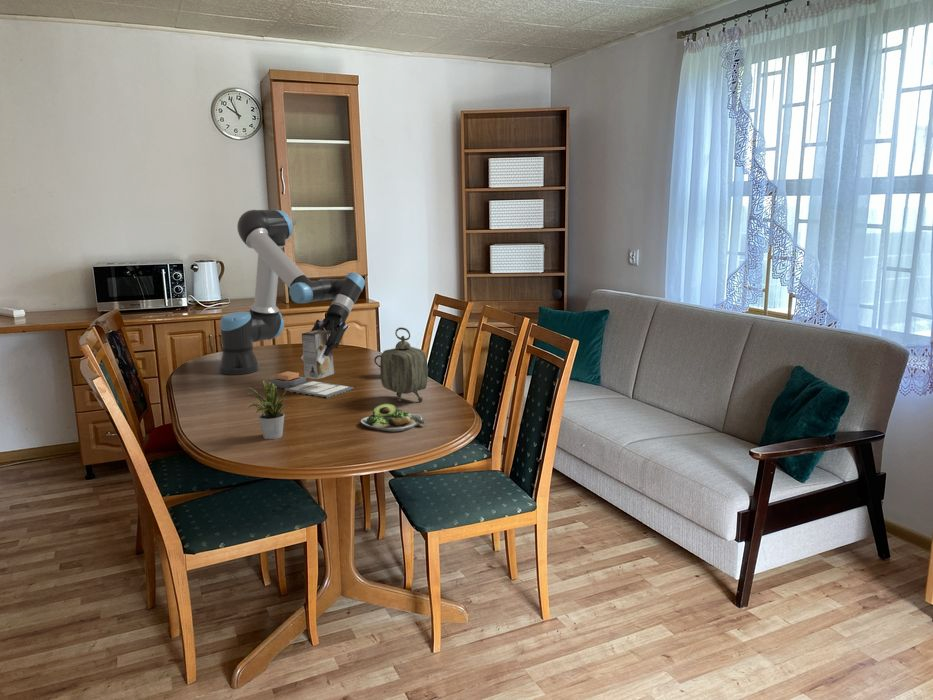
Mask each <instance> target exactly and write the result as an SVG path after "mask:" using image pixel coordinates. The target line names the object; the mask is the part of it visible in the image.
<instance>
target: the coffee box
mask: <svg viewBox="0 0 933 700" xmlns="http://www.w3.org/2000/svg"><path fill="white" fill-rule="evenodd" d="M310 331H311V330H310ZM310 331H307V332H302V333H301V341H302V342H301V346H302V355H303V360H304V361H303V360H302V361H303V373H304V377H305V378H306V379H313V380H320V379H323V378H326V377H329V376H332V375H335V365H334V350H333V349H334V348H333V349H331V351H330V353H329V355H328V356H326V358H325V360H324V362H323V364H322V365H321V364H319V363H318V361H317V358H318V356H319V354H320V352H321V351H322V349H323V347H324V345H327V344H326V343H327V342H328V338H329V336H330V334H331V332H332V331H329V330H325V329H324V330H315V331H311V332H310Z"/></svg>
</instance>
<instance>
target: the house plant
mask: <svg viewBox="0 0 933 700" xmlns="http://www.w3.org/2000/svg"><path fill="white" fill-rule="evenodd" d="M262 382H263V383H262V384H263V386H264V387H263V388H264V396H265V399H264V397H262V396H261V395H260V394H259V392H258V391H256V390H255V389H254V388H251V387H249V386H247V388H249V389H250V390H252V391H253V392H254V393H253V392H251V394H253V395H250V396H254V397H255V398H257V400H259V401H260V402H256V403H254V402H253V401H246V403H247V402H248V403H251V405H249V406H248V408H247V409H249V408H252V407H255V408H257V410H256V413H258V412H261V414H259V415H258V419H259V420H258V421H259V424H260V428H261V433H262V437H263V439H265V440H277V439H280V438H282V437H283V432H284V424H285V423H284V421H285V413H284V412H282V411H283V410H284V409H286V408H287V406H284V403H282V402H284V401H285V400H291V398H283V396H284V395H285V394H286V393H288V392H287V391H286V390H284V392H283V393H282V394H281V395H280V397H279V398H278V399H277V397H278V396H277V395H278V388H277V386H276V385H275V387H274V384H273V383H274V382H273V383H272V386H271V382H270V381H269V383H268V384H267V382H266V381H265V380H262ZM290 390H291V389H290ZM246 394H248V395H249V394H250V392H248V393H246ZM282 398H283V399H282ZM262 405H263V406H262ZM283 406H284V407H283ZM288 408H289V409H290V406H288Z"/></svg>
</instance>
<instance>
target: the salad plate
mask: <svg viewBox="0 0 933 700" xmlns="http://www.w3.org/2000/svg"><path fill="white" fill-rule="evenodd" d="M359 423H360V425H361V426H362V427H363V428H365V429H368V430H373V429H374V430H375V431H380V430H381V431H382V432H390V433H391V432H403V431H408V429H409V430H411V429H413V428H415V427H417V426H419V425H422V424H423V425H424V424H426V423H427V422H426V421H425V420H423V417H422V416H421V414H418V413H410V412H408V411H405V410H402V409H398V408H397V407H396V406H395V404H392V403H383V404H379V405H377V406H375V407H374V408H373V410H372V414H371V415H369V416H366V417H363V418H361V419H360V421H359ZM389 426H390V427H389ZM397 426H398V427H397ZM400 426H401V427H400Z"/></svg>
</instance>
